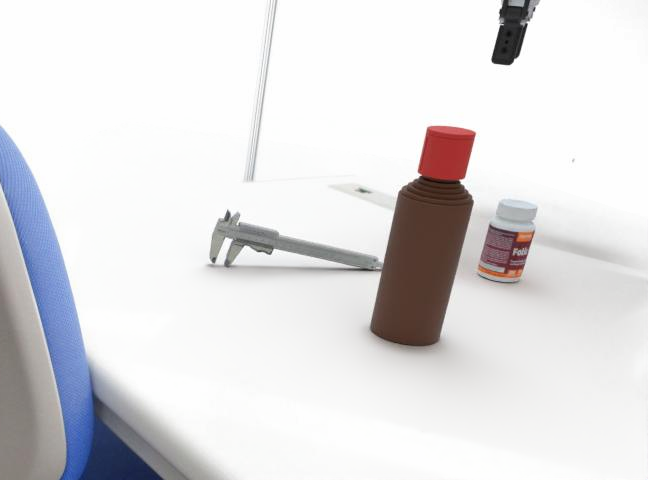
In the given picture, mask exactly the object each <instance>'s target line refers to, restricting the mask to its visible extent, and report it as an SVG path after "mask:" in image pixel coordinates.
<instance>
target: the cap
mask: <svg viewBox="0 0 648 480" xmlns="http://www.w3.org/2000/svg"><path fill="white" fill-rule="evenodd" d="M425 130H426V131H425V135H424V139H423V144H422V149H421V153H420V158H419V164H418V167H417V171H416V172H417V174H418V175H420V176H421V175H423V176H426V177H430V178H435V179H442V180H459V181H461V180H464V179H466V176H467V173H468V167H469V164H470V159H471V156H472V151H473V147H474V143H475V138H476V136H477V132H476V131H474V130H472V129H468V128H464V127H459V126H451V125H429V126H427V127H426V129H425Z"/></svg>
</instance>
